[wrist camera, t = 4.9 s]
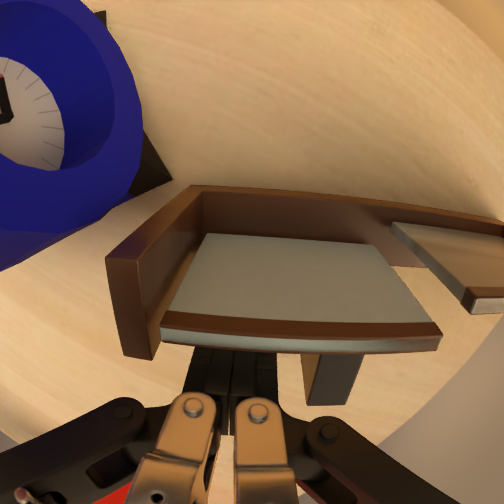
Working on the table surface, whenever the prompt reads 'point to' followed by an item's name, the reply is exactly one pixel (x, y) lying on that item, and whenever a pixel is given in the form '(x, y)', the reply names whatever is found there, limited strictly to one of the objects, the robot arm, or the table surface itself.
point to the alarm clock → (65, 126)
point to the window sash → (298, 307)
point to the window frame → (296, 227)
